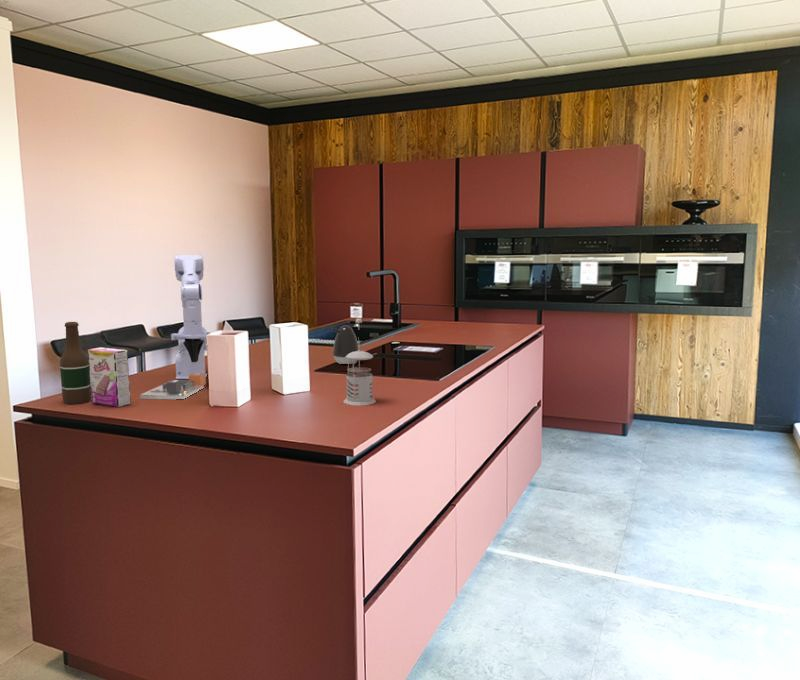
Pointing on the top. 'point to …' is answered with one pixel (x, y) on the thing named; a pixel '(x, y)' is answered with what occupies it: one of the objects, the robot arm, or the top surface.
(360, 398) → the french press
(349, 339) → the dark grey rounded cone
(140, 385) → the top surface
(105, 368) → the candy bar box
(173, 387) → the breaker
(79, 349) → the beer bottle
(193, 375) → the lockout cap
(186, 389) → the breaker panel
